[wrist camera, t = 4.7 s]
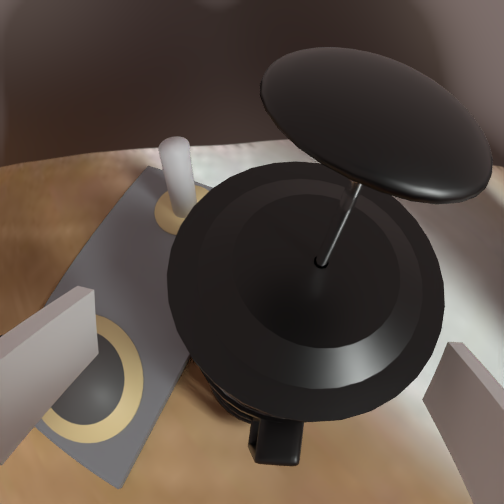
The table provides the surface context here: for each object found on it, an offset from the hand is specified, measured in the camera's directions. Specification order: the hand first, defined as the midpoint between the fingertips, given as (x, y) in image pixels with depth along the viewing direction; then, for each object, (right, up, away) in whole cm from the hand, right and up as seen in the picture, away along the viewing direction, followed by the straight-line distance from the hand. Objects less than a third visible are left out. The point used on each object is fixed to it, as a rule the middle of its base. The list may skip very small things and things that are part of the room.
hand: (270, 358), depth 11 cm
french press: (+1, -6, +14) cm, 15 cm away
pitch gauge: (-11, -1, +16) cm, 19 cm away
